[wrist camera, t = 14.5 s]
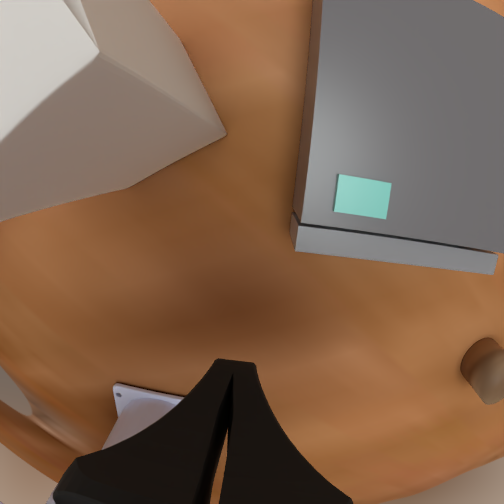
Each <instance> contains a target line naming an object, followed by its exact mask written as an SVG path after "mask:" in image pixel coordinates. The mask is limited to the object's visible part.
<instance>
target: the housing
mask: <svg viewBox="0 0 504 504" xmlns="http://www.w3.org/2000/svg"><path fill="white" fill-rule="evenodd" d="M292 207H293V209H294V211H295V213H296V214H297V216H298V218H299V220H300V222H301V223H307V224H315V225H322V226H330V227H338V228H345V229H353V230H360V231H367V232H374V233H381V234H388V235H395V236H402V237H408V238H415V239H421V240H428V241H434V242H440V243H446V244H452V245H458V246H464V247H470V248H476V249H482V250H488V251H493V252H499V253H504V17H503V16H501V15H499V14H498V13H496V12H494V11H492V10H490V9H489V8H487V7H485V6H483V5H481V4H479V3H477V2H475V1H473V0H313V3H312V17H311V31H310V43H309V55H308V67H307V78H306V89H305V99H304V109H303V119H302V129H301V138H300V147H299V156H298V165H297V173H296V182H295V190H294V198H293V206H292Z"/></svg>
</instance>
